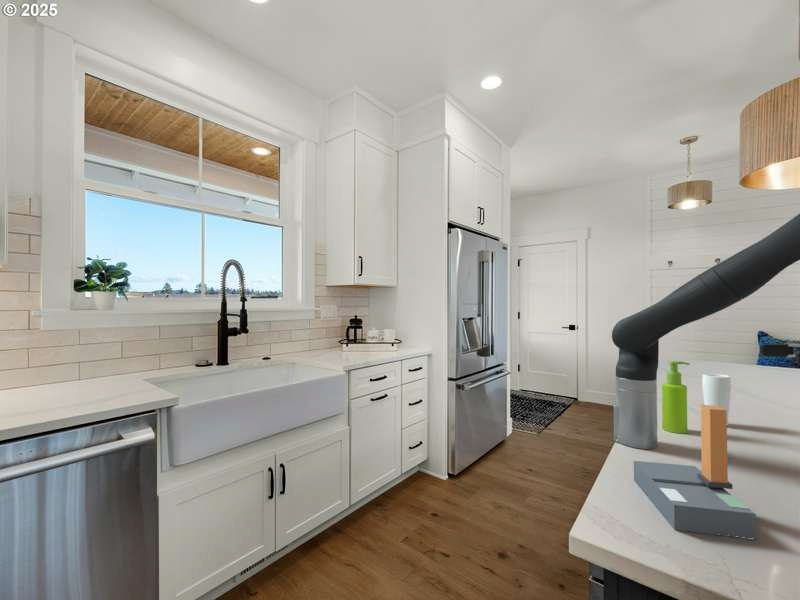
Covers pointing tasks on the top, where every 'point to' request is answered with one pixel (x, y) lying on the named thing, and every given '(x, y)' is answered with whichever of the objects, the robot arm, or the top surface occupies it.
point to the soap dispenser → (674, 401)
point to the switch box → (693, 500)
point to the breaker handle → (714, 447)
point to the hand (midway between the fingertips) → (778, 353)
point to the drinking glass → (716, 390)
